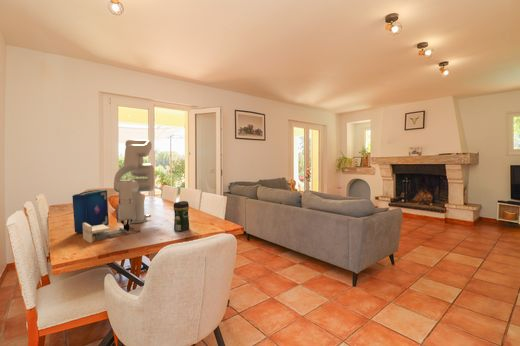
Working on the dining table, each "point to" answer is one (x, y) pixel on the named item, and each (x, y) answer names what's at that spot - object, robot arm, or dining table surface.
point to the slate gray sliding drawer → (108, 234)
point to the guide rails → (125, 233)
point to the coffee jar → (181, 216)
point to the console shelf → (92, 231)
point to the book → (90, 209)
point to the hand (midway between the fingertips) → (126, 230)
